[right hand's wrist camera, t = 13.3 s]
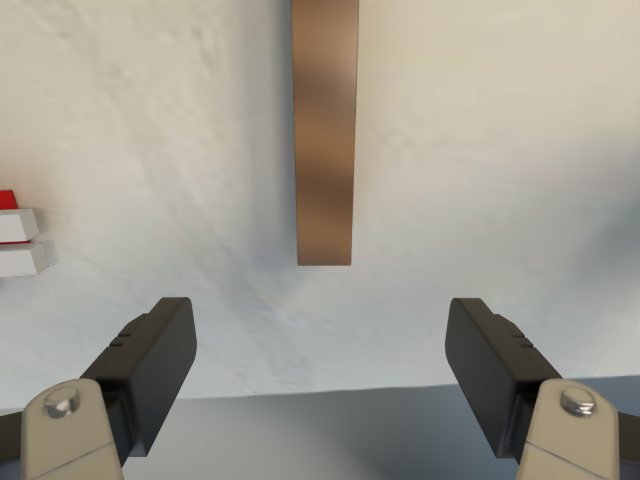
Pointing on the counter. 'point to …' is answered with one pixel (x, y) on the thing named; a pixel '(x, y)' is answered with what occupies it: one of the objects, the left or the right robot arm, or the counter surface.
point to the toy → (19, 240)
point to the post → (324, 127)
